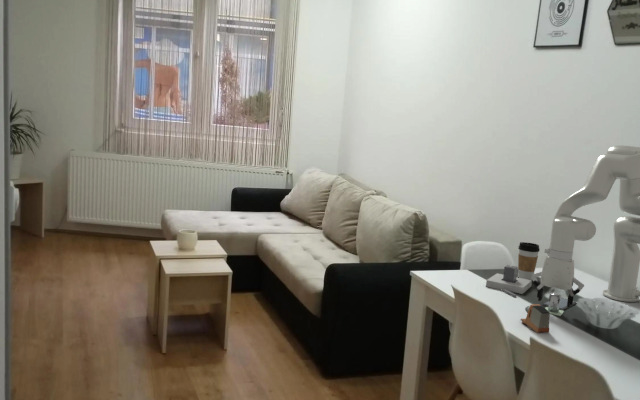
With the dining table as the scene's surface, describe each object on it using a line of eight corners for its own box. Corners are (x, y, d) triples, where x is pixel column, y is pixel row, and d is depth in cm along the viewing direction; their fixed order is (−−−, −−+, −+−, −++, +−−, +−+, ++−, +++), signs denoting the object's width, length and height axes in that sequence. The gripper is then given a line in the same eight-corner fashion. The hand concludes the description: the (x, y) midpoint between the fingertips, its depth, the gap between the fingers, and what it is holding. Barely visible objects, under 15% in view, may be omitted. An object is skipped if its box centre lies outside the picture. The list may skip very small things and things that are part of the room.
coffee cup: (510, 276, 249) (514, 241, 247) (525, 274, 253) (529, 240, 251) (525, 281, 242) (529, 246, 239) (540, 280, 245) (544, 245, 243)
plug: (559, 310, 205) (561, 294, 204) (557, 313, 202) (559, 296, 201) (548, 308, 207) (550, 292, 206) (546, 311, 204) (548, 294, 203)
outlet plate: (531, 286, 235) (532, 280, 235) (522, 294, 224) (523, 287, 223) (496, 279, 243) (497, 273, 242) (485, 286, 231) (486, 280, 231)
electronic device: (531, 322, 193) (534, 299, 191) (549, 333, 183) (552, 310, 182) (519, 322, 191) (522, 300, 190) (537, 333, 182) (540, 310, 181)
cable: (516, 297, 219) (516, 295, 219) (514, 297, 219) (514, 295, 219) (503, 290, 226) (503, 288, 226) (501, 291, 226) (501, 288, 226)
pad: (564, 311, 205) (564, 310, 205) (560, 316, 200) (560, 315, 200) (546, 307, 209) (546, 306, 209) (542, 311, 204) (542, 311, 204)
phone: (576, 304, 217) (576, 301, 216) (561, 312, 206) (562, 309, 206) (557, 299, 221) (557, 296, 221) (542, 307, 211) (542, 303, 211)
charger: (515, 286, 234) (517, 266, 233) (512, 288, 230) (514, 267, 229) (505, 284, 236) (507, 264, 235) (502, 286, 233) (504, 265, 231)
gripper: (531, 252, 203) (525, 300, 206) (585, 261, 194) (579, 311, 196) (536, 248, 209) (531, 295, 212) (589, 257, 200) (582, 306, 203)
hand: (554, 303), depth 204 cm, fingers open, 9 cm apart
